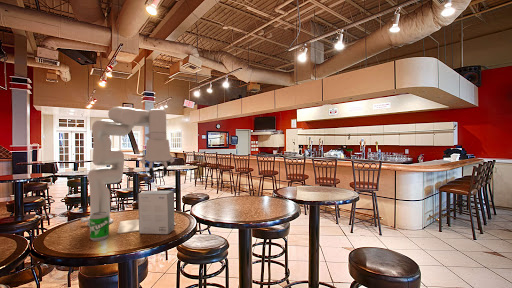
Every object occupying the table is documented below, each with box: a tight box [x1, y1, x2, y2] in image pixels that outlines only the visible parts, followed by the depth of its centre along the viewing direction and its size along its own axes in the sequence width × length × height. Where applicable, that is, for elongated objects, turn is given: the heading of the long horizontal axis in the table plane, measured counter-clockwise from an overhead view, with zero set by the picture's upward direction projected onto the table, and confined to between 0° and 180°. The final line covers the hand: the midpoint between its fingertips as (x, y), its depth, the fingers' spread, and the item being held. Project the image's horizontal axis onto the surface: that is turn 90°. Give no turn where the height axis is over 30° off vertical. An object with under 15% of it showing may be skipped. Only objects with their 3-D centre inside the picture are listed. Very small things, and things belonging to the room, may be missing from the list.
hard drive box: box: [137, 190, 176, 235], centre depth 124 cm, size 16×8×20 cm, turn 84°
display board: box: [116, 218, 177, 235], centre depth 138 cm, size 28×22×1 cm
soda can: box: [89, 212, 110, 242], centre depth 116 cm, size 8×8×12 cm
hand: (158, 176), depth 112 cm, fingers open, 4 cm apart
